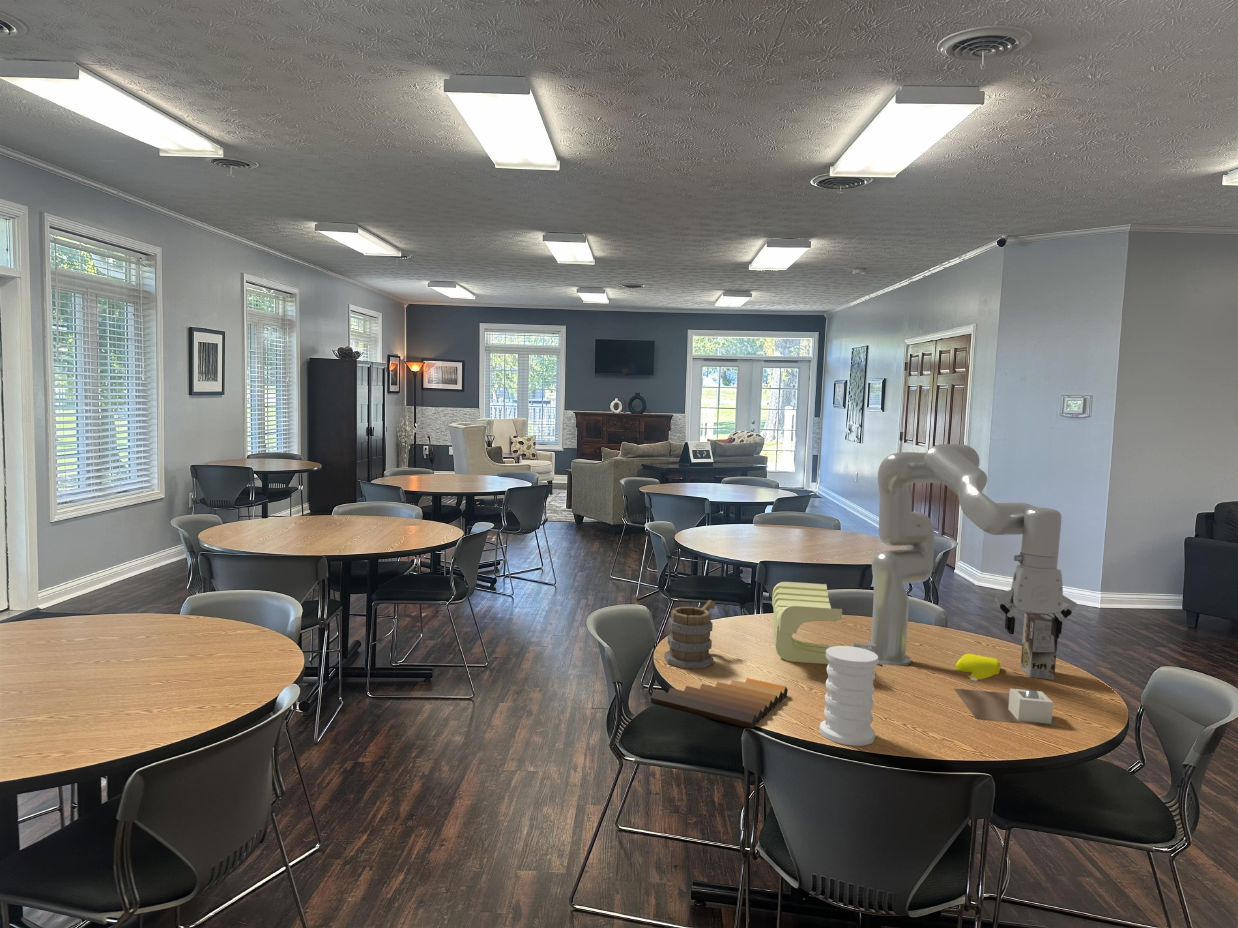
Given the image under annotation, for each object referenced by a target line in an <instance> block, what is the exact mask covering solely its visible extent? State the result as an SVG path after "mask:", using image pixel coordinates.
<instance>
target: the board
mask: <svg viewBox="0 0 1238 928" xmlns="http://www.w3.org/2000/svg"><path fill="white" fill-rule="evenodd" d="M953 689H954V691H955V693H956V694H957V695H958V697H959V698H960V700H961V701H962V702H963V704H964V705H965V706H966V708H967V709H968V710H969V711H970V713H971V714H972V715H973V717H974V718H975V720H980V721H981V720H982V721H991V722H993V721H994V722H1000V723H1001V722H1003V723H1009V724H1010V723H1012V724H1021V725H1032V726H1033V725H1034V726H1043V727H1051V728H1052V727H1053V728H1061V725H1060V724H1059V723H1058V722H1057V721H1056V720H1055V719H1054V718H1053V717H1052V721H1051V724H1047V723H1037V722H1027V721H1018V720H1017V719H1016V717H1015V716H1014V715H1013V714H1012V713H1011V712H1010V710H1009V709H1008V707H1009V694H1010V692H1009V693H1006V692H996V691H986V690H985V691H984V690H975V689H965V688H953Z"/></svg>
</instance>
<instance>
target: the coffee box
mask: <svg viewBox="0 0 1238 928" xmlns="http://www.w3.org/2000/svg"><path fill="white" fill-rule="evenodd" d="M1053 618H1054V616H1053V617H1052V615H1050V614H1049V613H1039V612H1024V616H1023V628H1022V641H1021V643H1022V644H1021V645H1022V646H1021V657H1020V658H1021V660H1020V669H1021V670H1023V671H1024V672H1025V673H1026V674H1027V676H1028V677H1030V678H1036V679H1045V680H1052V681H1053V680H1055V672H1056V665H1057V664H1056V661H1057V652H1058V651H1057V650H1058V642H1059V641H1058V639H1059V638H1055V637H1054V636H1052V635H1051V625H1052V619H1053Z"/></svg>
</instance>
